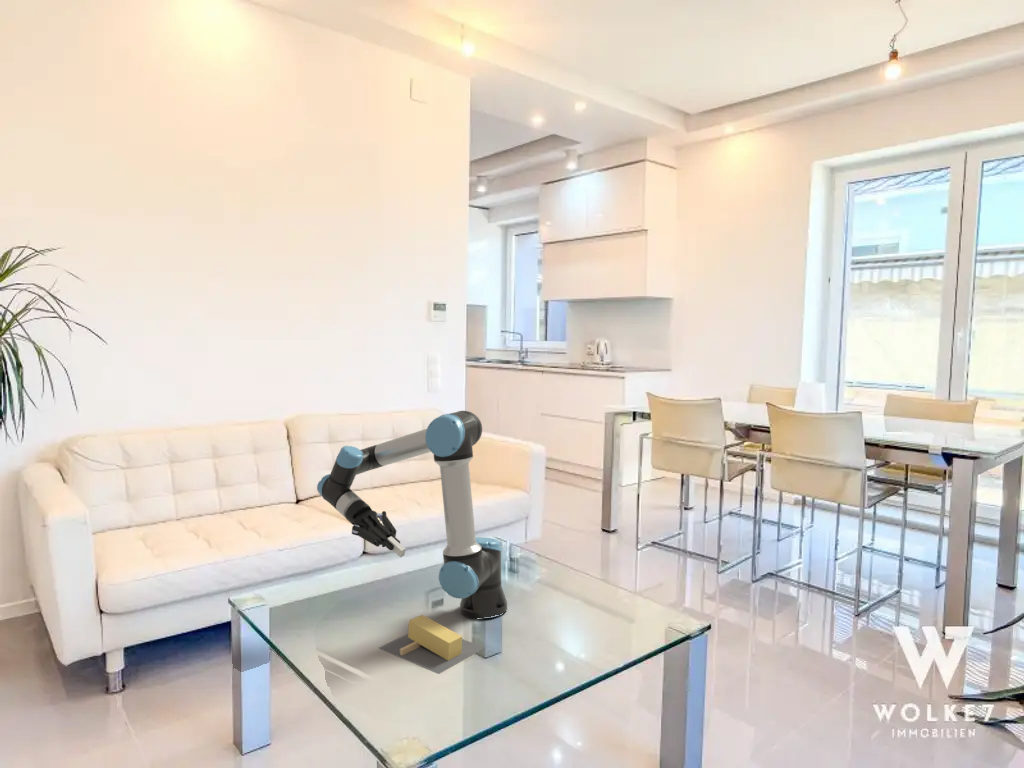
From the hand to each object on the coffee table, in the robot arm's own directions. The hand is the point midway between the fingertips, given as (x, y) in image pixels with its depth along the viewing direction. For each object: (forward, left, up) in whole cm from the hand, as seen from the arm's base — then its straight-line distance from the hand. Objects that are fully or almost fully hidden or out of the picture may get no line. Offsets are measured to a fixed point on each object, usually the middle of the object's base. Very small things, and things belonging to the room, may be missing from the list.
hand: (402, 553), depth 193 cm
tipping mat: (-8, +14, -23) cm, 29 cm away
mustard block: (-3, +9, -18) cm, 21 cm away
